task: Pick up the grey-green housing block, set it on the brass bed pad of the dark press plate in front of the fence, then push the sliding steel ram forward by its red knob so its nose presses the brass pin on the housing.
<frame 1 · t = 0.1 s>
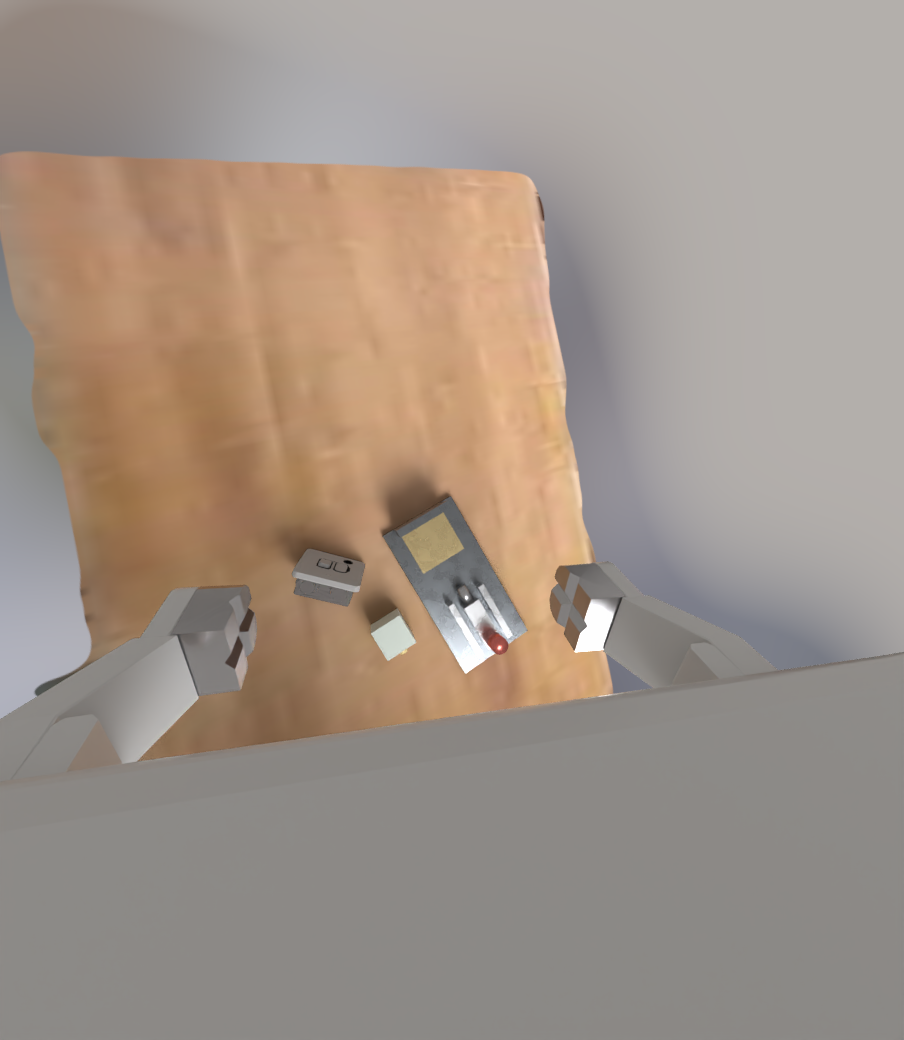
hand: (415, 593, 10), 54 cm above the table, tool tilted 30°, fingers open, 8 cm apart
housing: (391, 629, 64), on the table
press: (456, 584, 66), on the table
ram: (480, 618, 62), point 5 cm above the table, slide at 0.0 cm
electrical switch: (333, 571, 62), on the table
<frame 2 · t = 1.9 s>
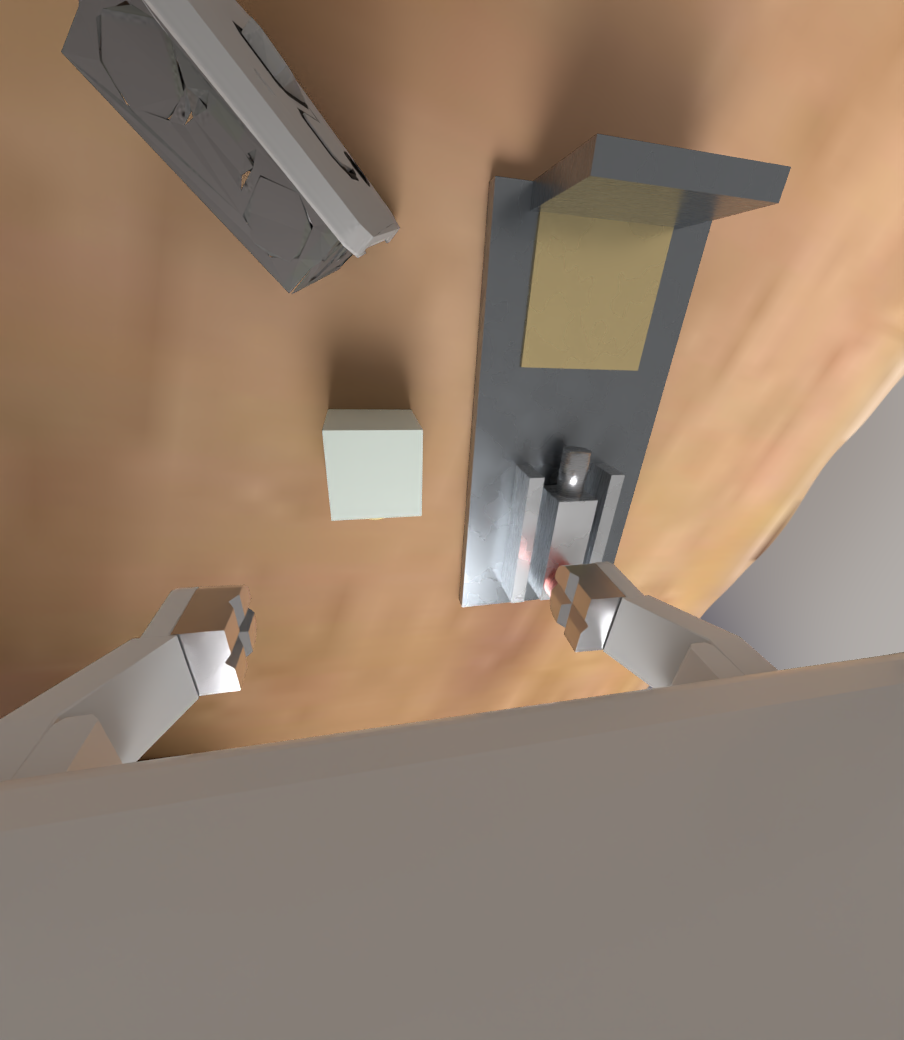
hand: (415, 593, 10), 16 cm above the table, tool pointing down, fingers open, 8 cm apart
housing: (372, 448, 25), on the table
press: (559, 439, 28), on the table
ram: (577, 540, 26), point 5 cm above the table, slide at 0.0 cm
electrical switch: (296, 185, 19), on the table
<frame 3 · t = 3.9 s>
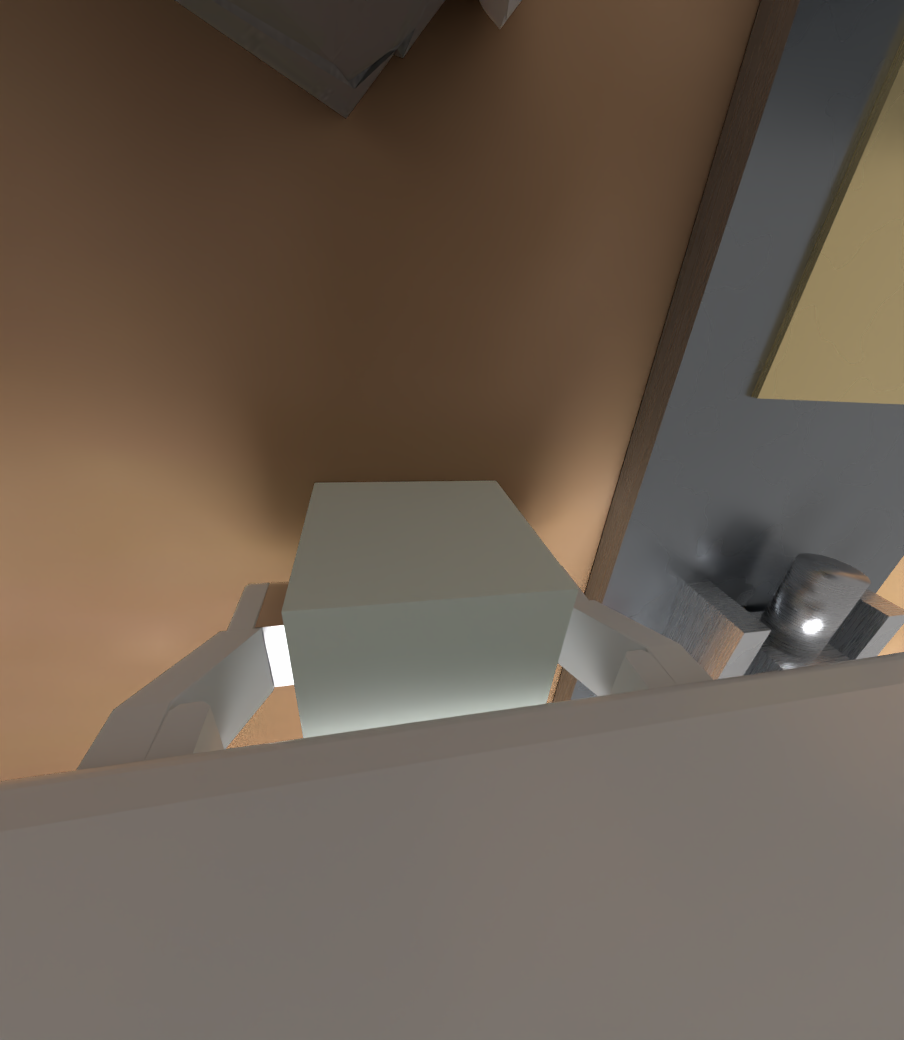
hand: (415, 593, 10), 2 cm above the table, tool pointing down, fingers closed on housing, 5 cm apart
housing: (407, 557, 12), on the table, touching gripper
press: (759, 528, 14), on the table
ram: (812, 743, 13), point 5 cm above the table, slide at 0.0 cm
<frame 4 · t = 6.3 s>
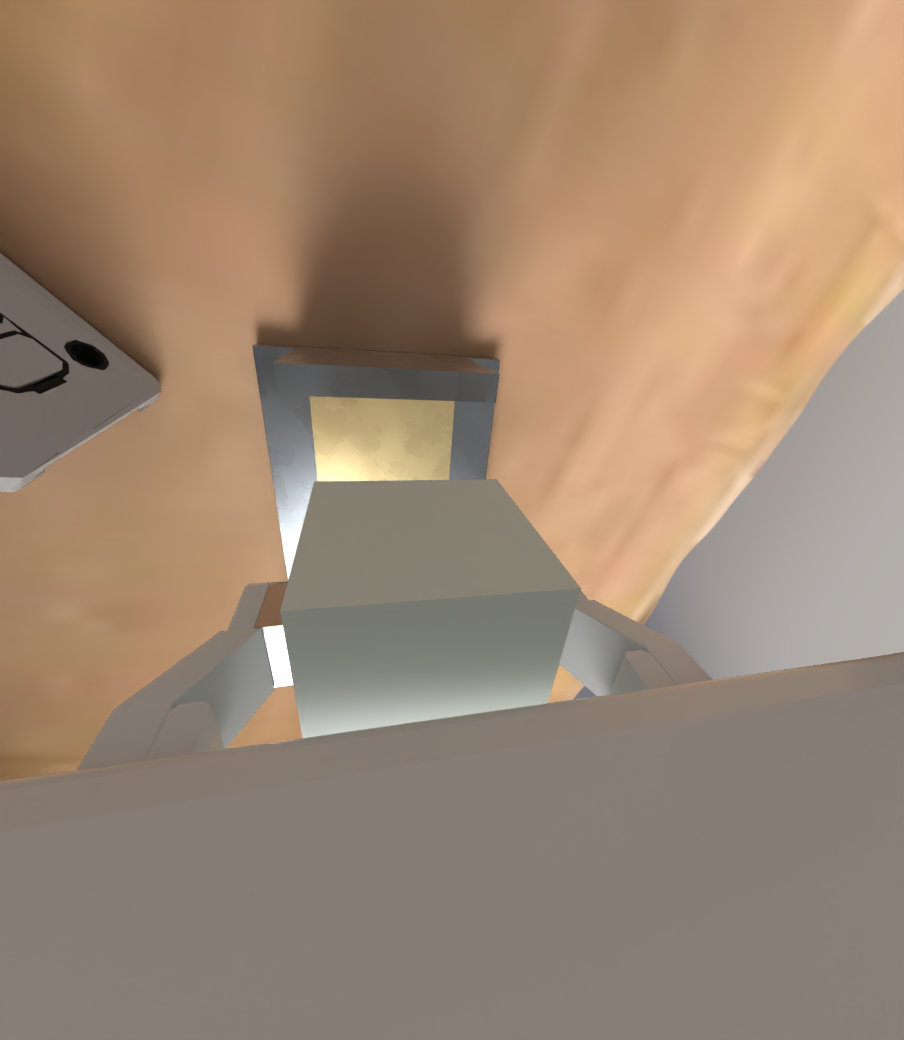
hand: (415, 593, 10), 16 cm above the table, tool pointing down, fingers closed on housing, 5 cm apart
housing: (408, 556, 12), point 14 cm above the table, touching gripper
press: (385, 555, 28), on the table
electrical switch: (49, 353, 19), on the table
when the fingers open (4 cm above the table, at t = 8.9 s): housing stays where it is, resting on press.
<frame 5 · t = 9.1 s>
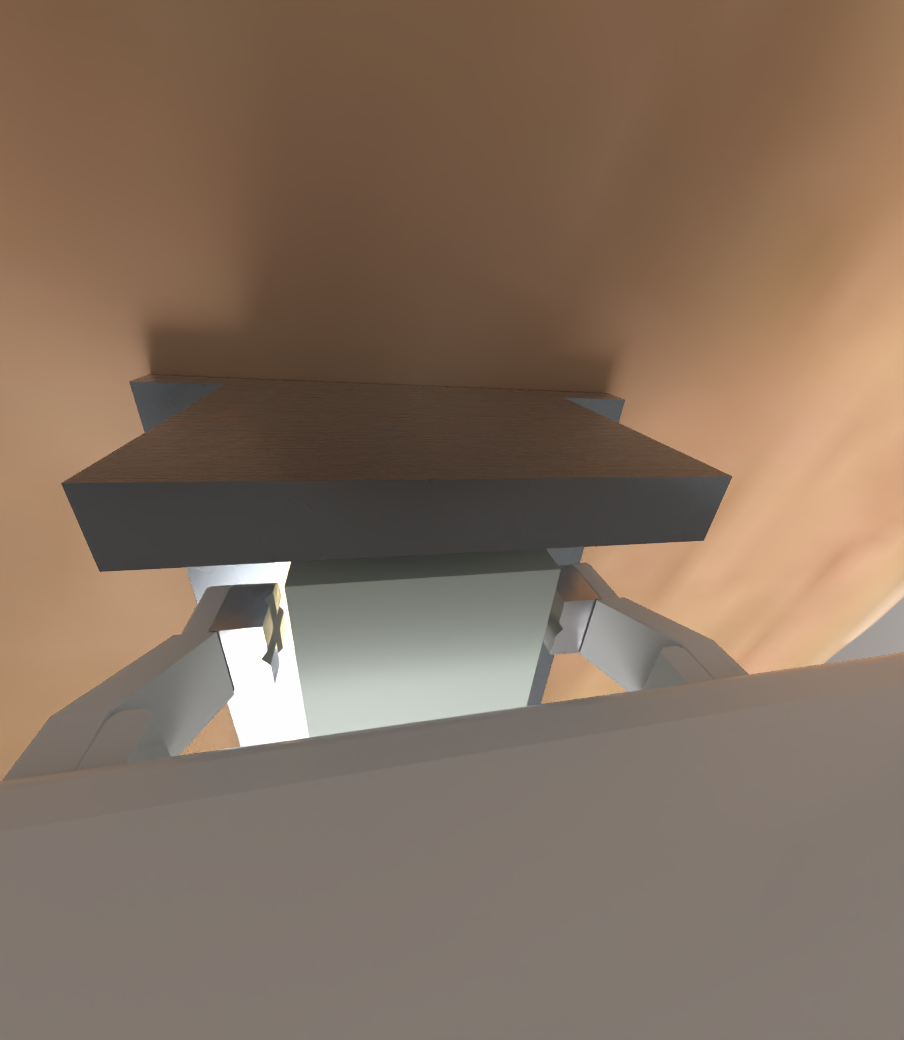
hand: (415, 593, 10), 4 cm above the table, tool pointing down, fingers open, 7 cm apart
housing: (404, 545, 12), point 1 cm above the table, touching press
press: (400, 695, 18), on the table
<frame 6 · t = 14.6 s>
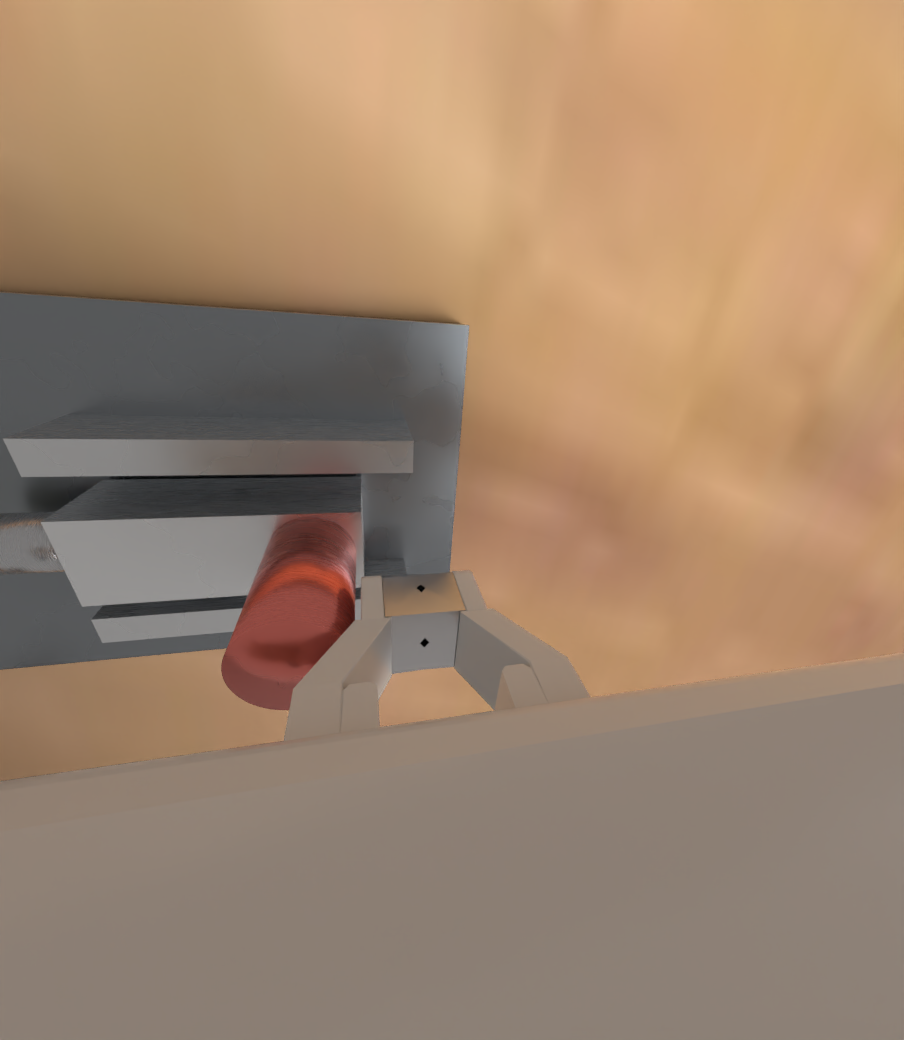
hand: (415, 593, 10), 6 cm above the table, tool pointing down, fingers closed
press: (73, 504, 14), on the table
ram: (153, 578, 10), point 5 cm above the table, slide at 1.1 cm, touching gripper
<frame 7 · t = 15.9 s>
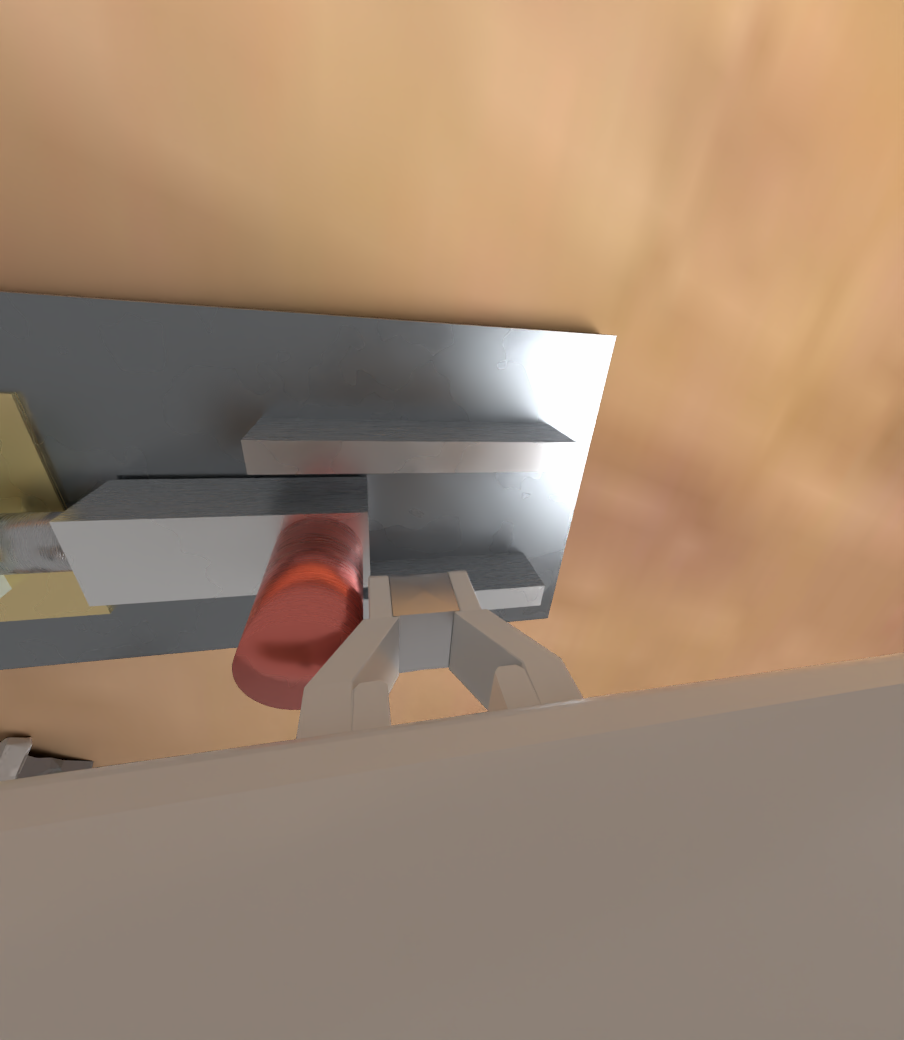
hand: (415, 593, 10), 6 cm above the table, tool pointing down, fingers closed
press: (238, 500, 15), on the table
ram: (161, 578, 10), point 5 cm above the table, slide at 6.2 cm, touching gripper, housing
electrical switch: (32, 786, 20), on the table
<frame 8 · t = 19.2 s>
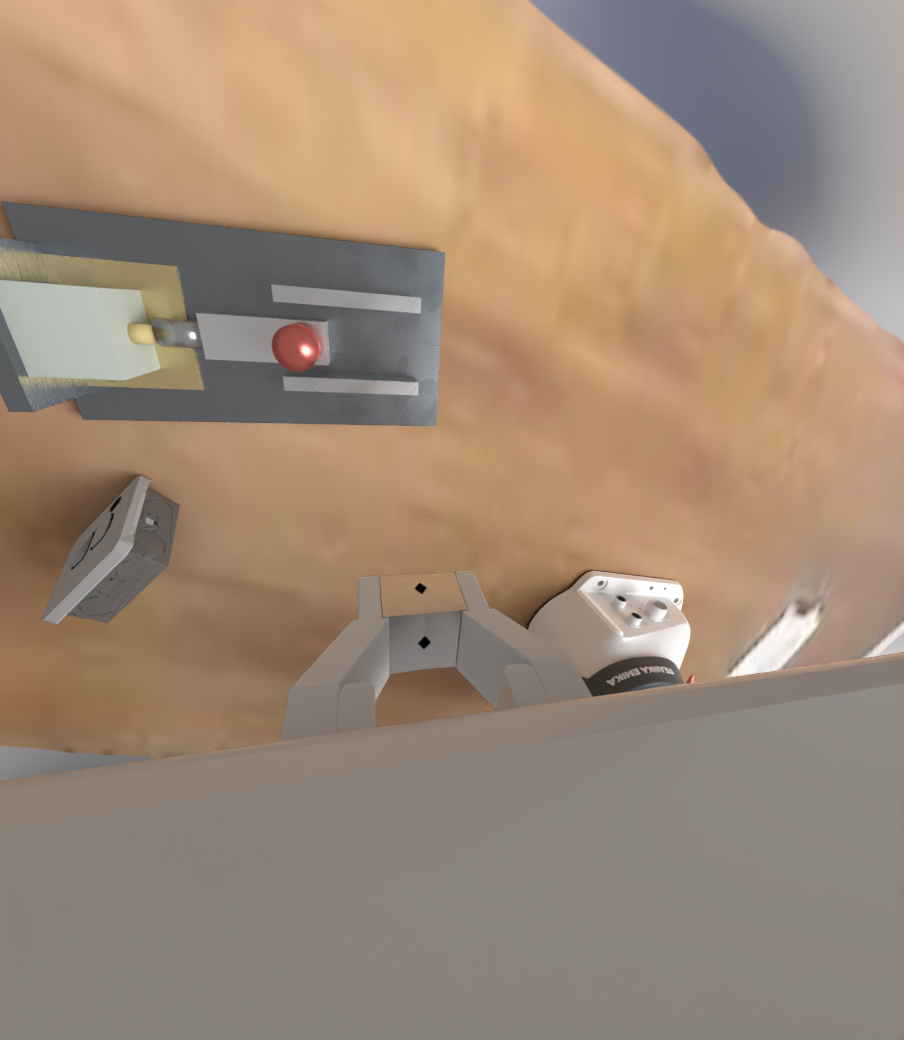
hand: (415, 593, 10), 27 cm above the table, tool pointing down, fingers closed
housing: (109, 328, 27), point 1 cm above the table, touching press, ram
press: (265, 335, 30), on the table
ram: (238, 340, 26), point 5 cm above the table, slide at 6.2 cm, touching housing
electrical switch: (144, 521, 35), on the table
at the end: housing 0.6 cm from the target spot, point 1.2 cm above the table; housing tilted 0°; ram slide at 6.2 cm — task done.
